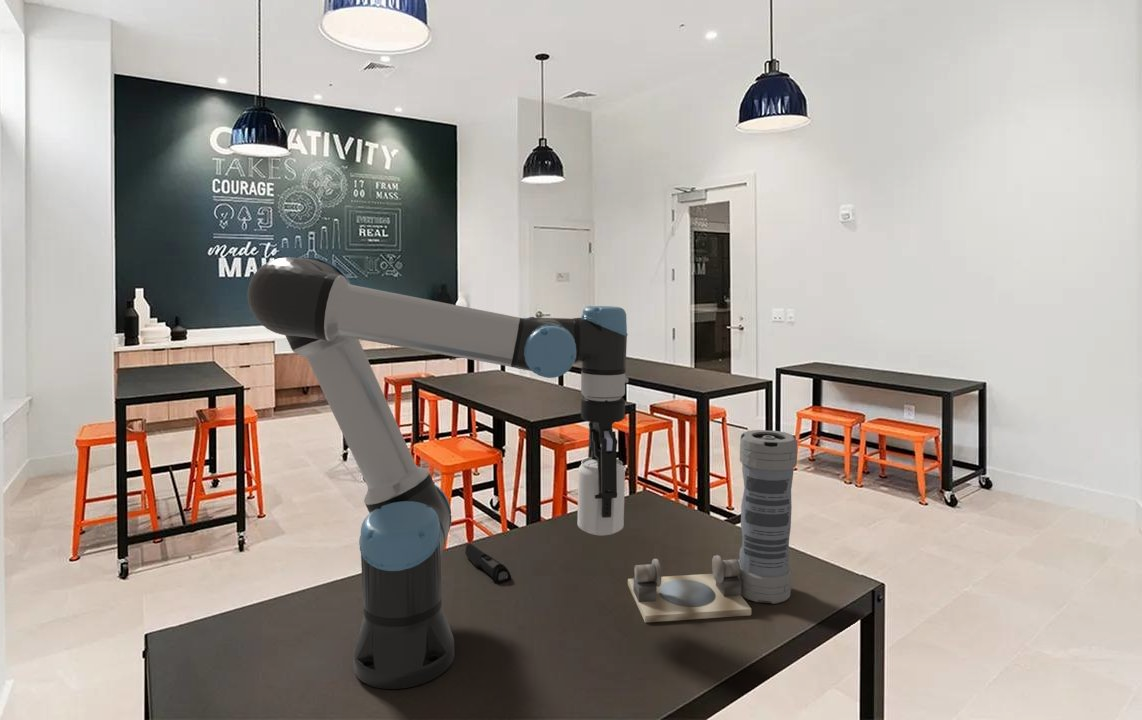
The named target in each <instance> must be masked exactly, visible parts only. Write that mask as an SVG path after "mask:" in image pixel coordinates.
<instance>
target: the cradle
mask: <svg viewBox="0 0 1142 720" xmlns="http://www.w3.org/2000/svg"><path fill="white" fill-rule="evenodd" d="M738 560H739V559H736V558H734V559H722V558H721V556H720V555H719V554H717V555H713V557H712V559H711V571H712V573H702V574H701V573H699V574H687V575H683V574H682V575H670V576H662V567H661V564H660V560H659V559H658V558H652V560H651V564H650V563H649V564H635V565H634V576H633V578H628V579H627V586H628V588H629V591H630V593H631V595H632V598H633V599H634V601H635V604H636V606H637V608H638V610H639V612H640V614H641V616H642V619H643V621H644V623H645V624H646V623H657V622H672V621H687V620H700V619H701V620H703V619H716V618H718V619H719V618H729V617H733V618H734V617H745V616H751V615H752V608H751V607H750V605H749V603H747V601H746V599H745V598H744V597H742V596H741V584H742V581H741V580H740V578H739V577H738V576H740V564H739V561H738Z"/></svg>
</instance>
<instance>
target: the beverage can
mask: <svg viewBox="0 0 1142 720" xmlns="http://www.w3.org/2000/svg"><path fill="white" fill-rule="evenodd" d="M616 462H617V498H614V515H613V534H615V533H618V532H620V531H621V530H623V529H624V526H625V525H624V519H625V514H624V513H625V489H626V487H625V485H626V484H625V482H626V470H625V467H624V466H623V461H622V460H620V459H617V458H616ZM577 471H578V473H577V474H578V475H577V526H578V528H579V529H580V530H581V531H583V532H585V533H587V534H590V535H595V536H598V535H597V499H595V495H598V494H599V484H598V463H597V459H592V457H590V458H588V457H587V458H584V459H582V460H581V464H580V465H579V467H578V470H577ZM608 491H610V490H608ZM610 535H611V534H609V536H610Z"/></svg>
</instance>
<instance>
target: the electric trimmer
mask: <svg viewBox="0 0 1142 720" xmlns="http://www.w3.org/2000/svg"><path fill="white" fill-rule="evenodd" d="M464 553H465V555H466V557H467V558H468V559H469V560H470V562H471V563H472V564H473V566H475V567H476V568H479V569H482V570H484V571H485V572H486V573H487V574H488V575H489V576H491V578H492V581H493V583H494V584H498V585H500V584H504V583H508V582H510V581H511V580H512V575H511V573H510V571H509V569H508V568H507V567H506V566H505V565H504V564H502V563H501V562H499V561H497V559H495V558H493V557H492V556H490V555H489V554H487V553H486V552H484V551H482V550H481V549H480V548H478V547H476V546H475V545H474V544H472V543H467V544H466V547H465V552H464Z"/></svg>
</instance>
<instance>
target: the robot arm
mask: <svg viewBox="0 0 1142 720" xmlns="http://www.w3.org/2000/svg"><path fill="white" fill-rule="evenodd" d="M247 301H248V306H249V309H250V312H251V313H252V315H253V317H254V318H255V320H257V322H258V323H259V324H260V325H261V326H262V327H264V328H265V329H267V330H268V331H271V332H272V333H275V334H277V335H278V334H279V335H283V336H285V337H286V340H287V342H288V343H289V344H288V345H289V346H290V348H291V350H292V352H293V353H294V354H296V355H300V356H301V357H304V358H306V359H307V361H308V363H309V365H310V368H311V369H312V372H313V373H314V375H315V378H316V380H317V383H318V385H319V386H320V388H321V391H322V392H323V395H324V397H325V400H326V402H327V403H328V405H329V407H330V410H331V411H332V414H333V416H334V418H335V420H336V422H337V425H338V427H339V430H340V431H341V433H342V436H343V437H344V439H345V442H346V444H347V446H348V448H349V450H350V452H351V454H352V457H353V459H354V460H355V463H356V464H357V467H358V469H359V472H360V473H361V476H362V478H363V480H364V482H365V485H366V486H367V492H366V494H365V496H364V499H363V503H364V504H365V506H366V509H367V511H368V513H369V514H368V515H366V516H365V518H364V519H363V521H362V523H361V526H360V535H359V540H358V541H359V542H358V544H359V551H360V561H361V563H360V564H361V566H360V567H361V583H362V584H361V586H362V602H363V603H362V605H363V618H362V619H363V620H362V622H361V626H360V629H359V631H358V632H359V633H358V635H357V640H356V643H355V646H354V650H353V655H352V658H353V670H354V674H355V676H356V677H357V678H358V679H359V680H360V681H361V682H363V683H364V684H366V685H368V686H370V687H373V688H374V687H375V688H379V689H386V690H399V689H409V688H413V687H416V686H420V685H424V684H426V683H428V682H430V681H432V680H434V679H437V678H438V677H440V676H441V675H442V674H443V673H445V672H446V671H447V670H448V669H449V668H450V666H451V665H452V664H453V662H454V659H455V638H454V635H453V633H452V630H451V627H450V625H449V622H448V620H447V617H446V614H445V612H444V609H443V603H442V601H443V600H442V598H443V597H442V595H443V594H442V558H443V553H444V549H445V547H446V546H445V545H446V542H447V539H448V535H449V532H450V530H451V526H452V517H453V516H452V508H451V505H450V502H449V501H450V500H449V499H448V497H447V496H446V493H444V491H443V489H441V488H440V487H439V486H438V485H436V484H435V482H434V480H433V478H432V476H431V473H430V471H429V470H428V469H427V468H423V467H421V466H419V465H417V464H416V463H415V460H414V458H413V456H412V453H411V451H410V450H409V446H408V445H407V443H406V441H405V438H404V436H403V433H402V431H401V430H400V427H399V425H398V423H397V420H396V418H395V417H394V414H393V412H392V410H391V408H390V405H389V403H388V401H387V398H386V397H385V394H384V392H383V389H382V387H381V386H380V383H379V381H378V379H377V376H376V375H375V373H374V370H373V368H372V366H371V364H370V362H369V360H368V359H369V358H368V357H367V355H366V353H365V351H364V349H363V346H362V344H361V342H360V340H361V341H365V342H366V341H367V342H372V343H378V344H383V345H390V346H394V347H399V348H400V347H401V348H405V349H412V350H417V351H423V352H426V353H427V352H428V353H431V354H433V353H434V354H439V355H444V356H448V357H450V356H451V357H456V358H460V359H461V358H462V359H467V360H472V361H477V362H482V363H487V364H488V363H490V364H493V365H499V366H505V367H510V368H515V369H519V370H523V371H529V372H532V373H533V374H536V375H537V376H540V377H543V378H548V379H554V378H559V377H561V376H563V375H565V374H566V373H568V371H570V370H571V369H572V368H573V366H574V364H575V363H581V365H582V366H581V373H580V375H581V376H580V377H581V378H580V381H581V382H580V394H581V395H582V396H583V397H582V398H581V399H580V417H581V419H582V420H584V421H585V422H588V428H589V429H588V430H589V431H588V433H589V434H588V435H589V437H588V451H587V458H590V457H592V459H597V463H598V484H599V494H598V495H595V499H597V535H596V536H608V535H609V534H610V535H614V533H613V515H614V498H617V462H616V459H617V450H618V438H617V436H616V431H614V430H613V424H614V423H620V422H622V421H624V419H625V416H626V415H625V413H626V412H625V411H626V410H625V409H626V400H625V399H624V398H623V397H624V396H625V395H626V384H627V383H629V377H627V376H626V371H627V370H626V365H627V344H628V343H627V340H628V328H627V326H628V325H627V324H628V323H627V313H626V310H625V309H624V308H622V307H620V306H612V305H611V306H609V305H607V306H606V305H597V306H594V305H593V306H592V305H590V306H585V307H584V308H583V309H582V314H581V317H573V318H563V317H562V318H561V317H535V316H530V317H517V316H513V315H507V314H504V313H498V312H493V311H487V310H482V309H476V308H473V307H467V306H463V305H458V304H452V303H447V302H442V301H437V300H432V299H427V298H422V297H416V296H411V295H405V294H401V293H395V292H390V291H385V290H382V289H381V290H380V289H375V288H370V287H366V286H359V285H355V284H352V283H351V282H350V280H349V277H347V275H346V274H345V273H344V271H342V269H340V268H339V267H338V266H336V265H334V264H332V263H331V262H330V261H327V260H324V259H321V258H318V257H302V258H301V257H293V256H292V257H291V256H290V257H288V256H287V257H286V256H285V257H279V258H274V259H272V260H269V261H268V262H266V263H264V264H263V265H261V266H260V267H259V268H258V269H257V270H256V271H255V273H254V274H253V276H252V277H251V280H250V281H249V284H248V288H247ZM608 490H610V491H608ZM610 535H609V536H610Z"/></svg>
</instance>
